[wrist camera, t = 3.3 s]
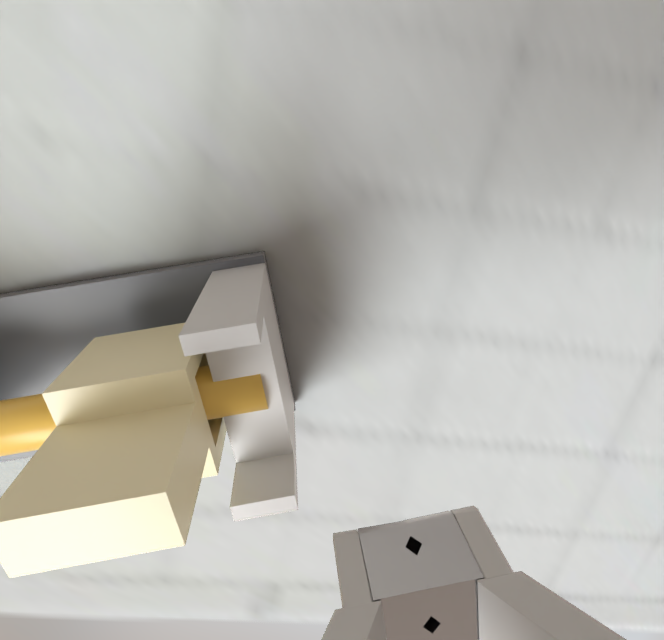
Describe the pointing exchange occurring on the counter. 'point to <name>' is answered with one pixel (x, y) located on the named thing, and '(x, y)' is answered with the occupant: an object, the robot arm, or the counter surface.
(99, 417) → the notched stepped block
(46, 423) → the linear slide clamp
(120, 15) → the counter surface
